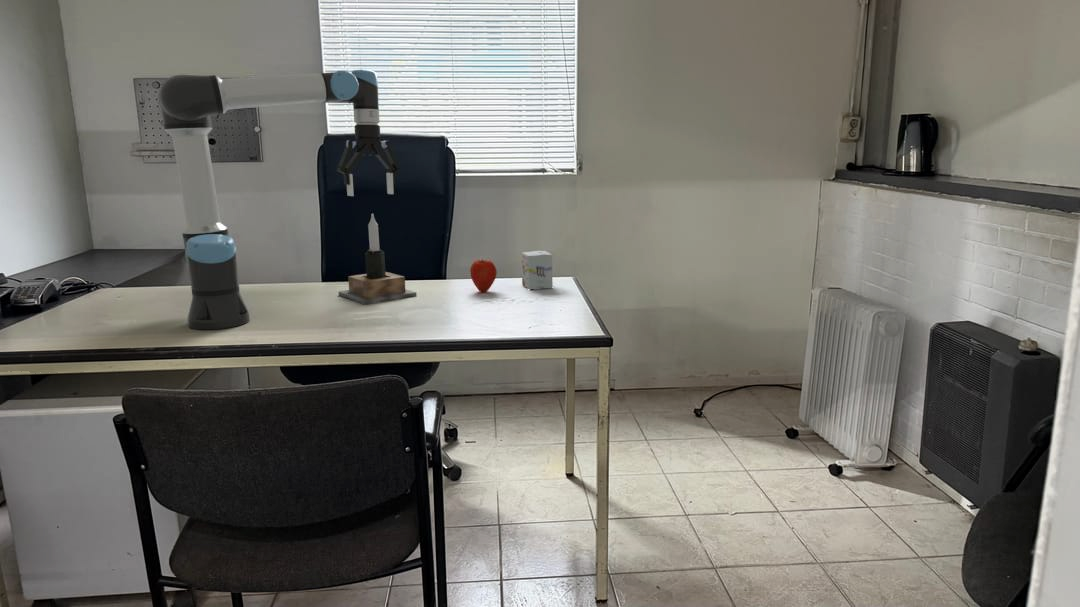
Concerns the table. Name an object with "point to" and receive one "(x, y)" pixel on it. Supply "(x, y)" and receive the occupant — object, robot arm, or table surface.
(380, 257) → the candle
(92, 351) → the table surface
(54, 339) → the table surface
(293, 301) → the table surface
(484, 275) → the red strawberry
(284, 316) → the table surface
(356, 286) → the holder
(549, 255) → the ink box
